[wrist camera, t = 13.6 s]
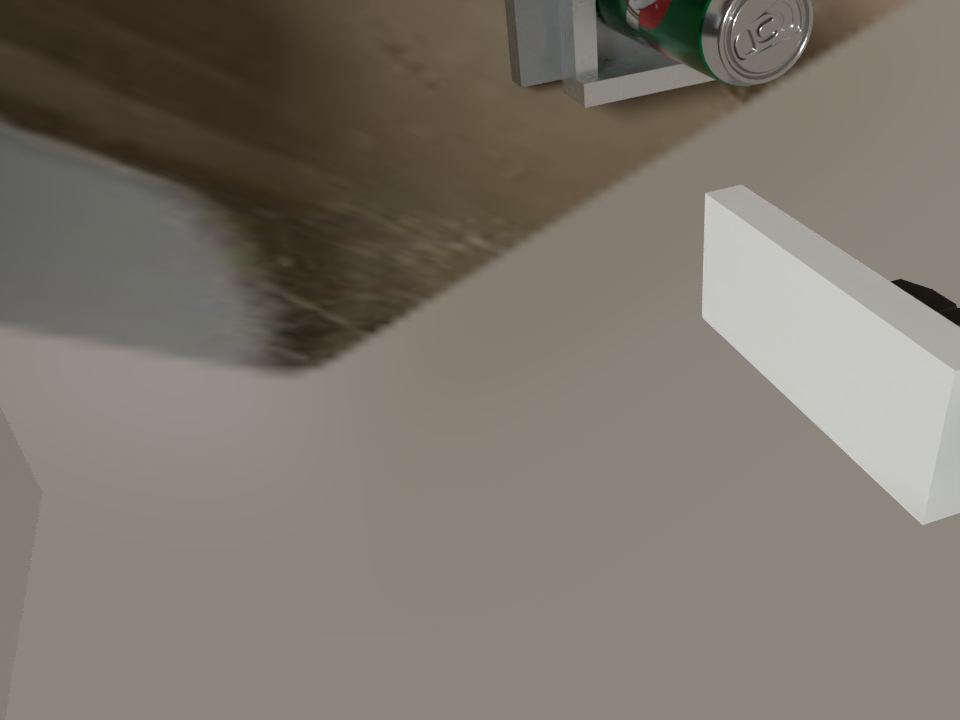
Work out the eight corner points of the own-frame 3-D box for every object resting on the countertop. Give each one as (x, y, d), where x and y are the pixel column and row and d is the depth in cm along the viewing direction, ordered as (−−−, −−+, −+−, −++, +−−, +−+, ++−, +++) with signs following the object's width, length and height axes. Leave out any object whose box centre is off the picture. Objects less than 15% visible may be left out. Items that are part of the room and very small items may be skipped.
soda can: (695, -1, 48) (835, 49, 38) (615, 53, 48) (735, 117, 38) (661, -92, 45) (803, -64, 35) (576, -34, 45) (695, 11, 36)
